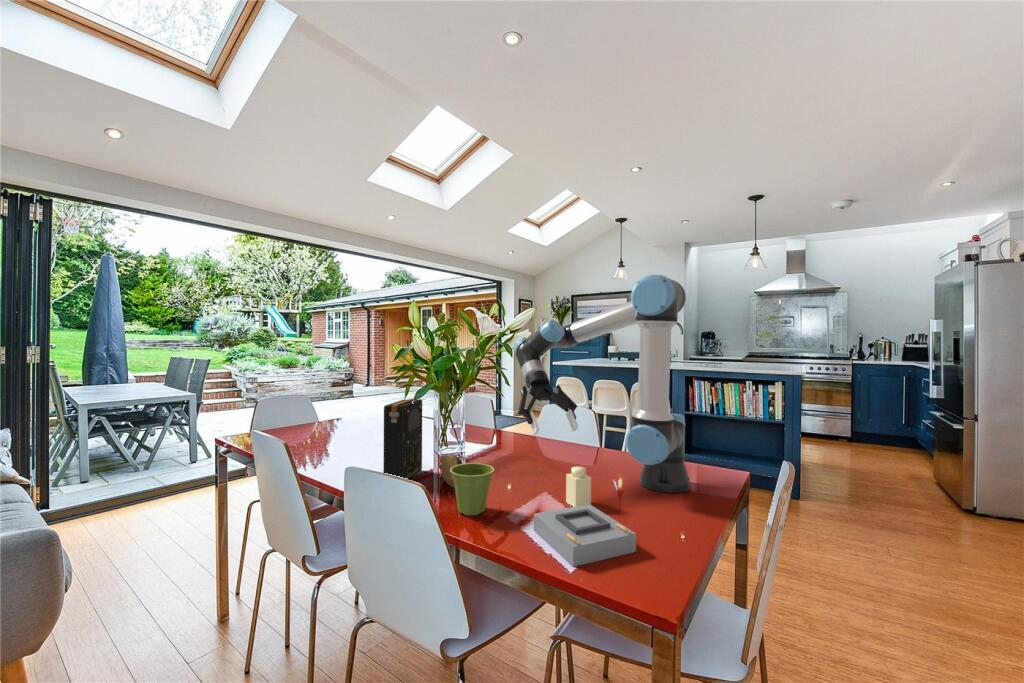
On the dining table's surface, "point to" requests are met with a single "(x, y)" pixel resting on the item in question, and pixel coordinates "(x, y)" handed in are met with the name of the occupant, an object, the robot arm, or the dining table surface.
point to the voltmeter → (403, 438)
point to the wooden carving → (449, 467)
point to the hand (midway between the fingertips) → (556, 430)
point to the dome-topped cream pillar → (578, 487)
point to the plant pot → (471, 486)
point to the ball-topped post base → (584, 534)
